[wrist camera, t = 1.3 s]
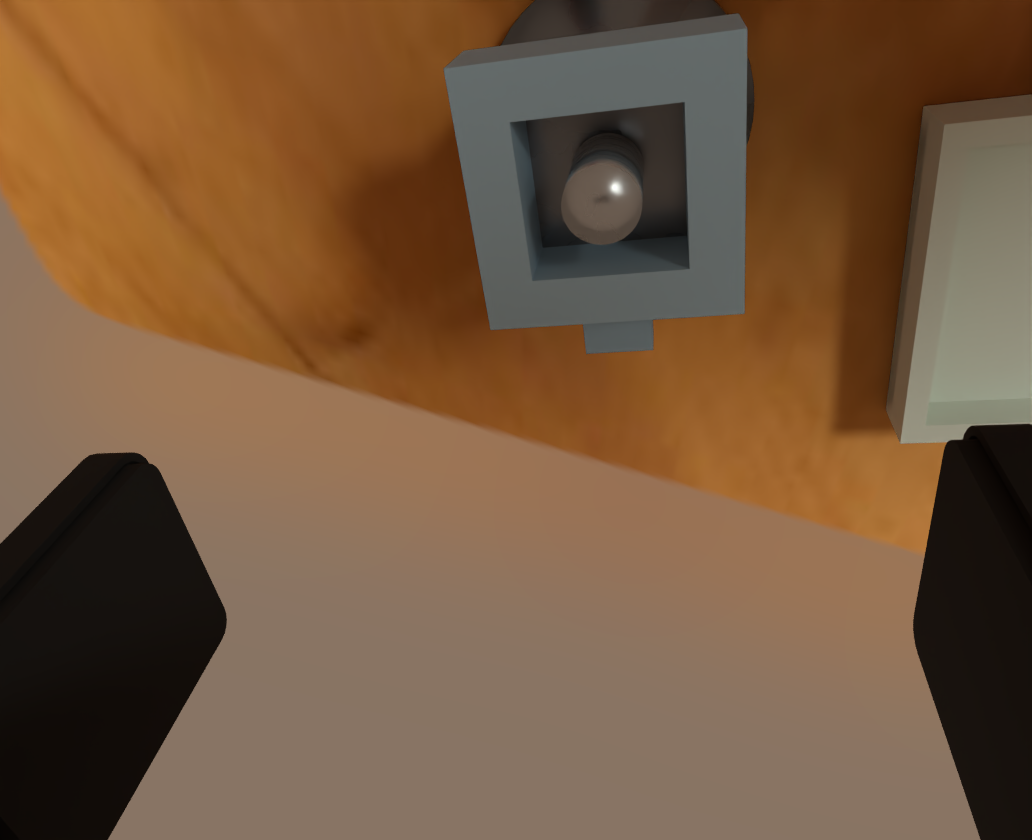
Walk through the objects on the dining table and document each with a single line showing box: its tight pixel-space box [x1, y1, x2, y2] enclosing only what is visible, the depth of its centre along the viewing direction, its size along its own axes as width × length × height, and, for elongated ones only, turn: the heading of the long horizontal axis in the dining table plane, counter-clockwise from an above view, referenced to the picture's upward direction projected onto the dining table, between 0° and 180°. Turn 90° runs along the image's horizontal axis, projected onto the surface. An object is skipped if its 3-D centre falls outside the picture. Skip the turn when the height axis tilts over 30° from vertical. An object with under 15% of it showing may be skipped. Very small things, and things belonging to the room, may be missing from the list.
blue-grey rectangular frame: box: [444, 13, 747, 354], centre depth 22 cm, size 7×9×2 cm
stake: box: [501, 0, 754, 248], centre depth 24 cm, size 9×9×10 cm
